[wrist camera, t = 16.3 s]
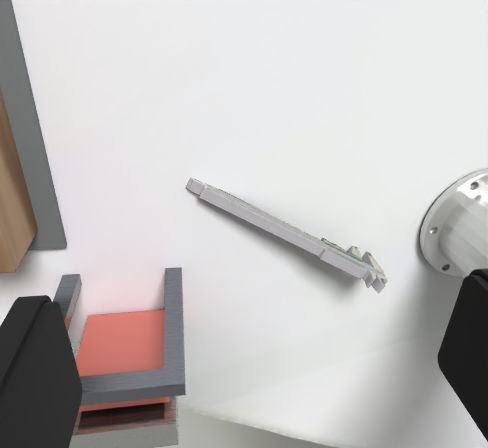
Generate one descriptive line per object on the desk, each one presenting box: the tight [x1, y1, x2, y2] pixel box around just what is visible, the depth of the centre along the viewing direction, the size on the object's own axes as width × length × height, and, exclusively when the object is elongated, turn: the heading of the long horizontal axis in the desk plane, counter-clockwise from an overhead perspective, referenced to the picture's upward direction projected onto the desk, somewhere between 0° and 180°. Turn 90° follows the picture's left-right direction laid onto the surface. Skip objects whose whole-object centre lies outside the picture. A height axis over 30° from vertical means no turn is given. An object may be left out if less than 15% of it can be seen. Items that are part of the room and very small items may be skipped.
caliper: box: [186, 178, 387, 293], centre depth 37 cm, size 20×1×6 cm, turn 62°
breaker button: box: [76, 310, 170, 412], centre depth 38 cm, size 8×2×9 cm, turn 88°
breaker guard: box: [53, 268, 186, 448], centre depth 36 cm, size 11×11×14 cm
